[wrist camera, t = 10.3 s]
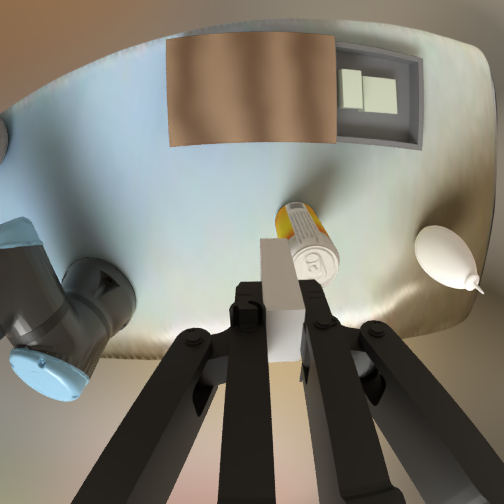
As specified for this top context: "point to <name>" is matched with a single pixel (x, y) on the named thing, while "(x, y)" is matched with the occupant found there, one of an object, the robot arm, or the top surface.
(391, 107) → the rear tile
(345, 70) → the front tile
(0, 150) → the coffee pot
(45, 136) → the top surface
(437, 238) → the air blower bulb
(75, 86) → the top surface
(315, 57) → the walnut board
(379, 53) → the box
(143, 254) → the top surface
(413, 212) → the top surface
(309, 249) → the beer can
